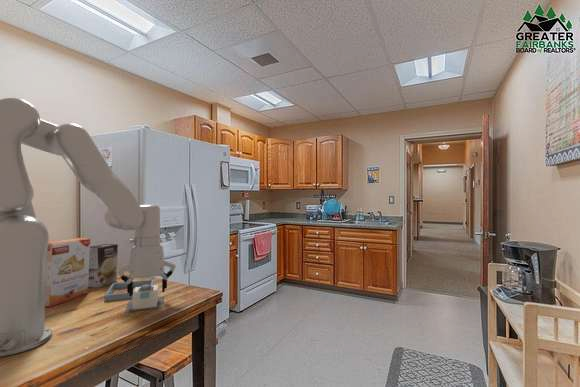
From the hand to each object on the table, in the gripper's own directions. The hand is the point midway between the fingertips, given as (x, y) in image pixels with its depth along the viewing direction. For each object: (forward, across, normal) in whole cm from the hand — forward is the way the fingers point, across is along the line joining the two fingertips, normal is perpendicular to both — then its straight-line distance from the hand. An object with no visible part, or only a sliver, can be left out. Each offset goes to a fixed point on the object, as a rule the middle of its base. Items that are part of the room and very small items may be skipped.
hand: (147, 292), depth 93 cm
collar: (+4, -1, 0) cm, 4 cm away
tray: (+5, -7, +15) cm, 17 cm away
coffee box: (+5, -20, +34) cm, 39 cm away
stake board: (+5, -1, 0) cm, 5 cm away
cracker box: (+4, -28, +18) cm, 33 cm away
